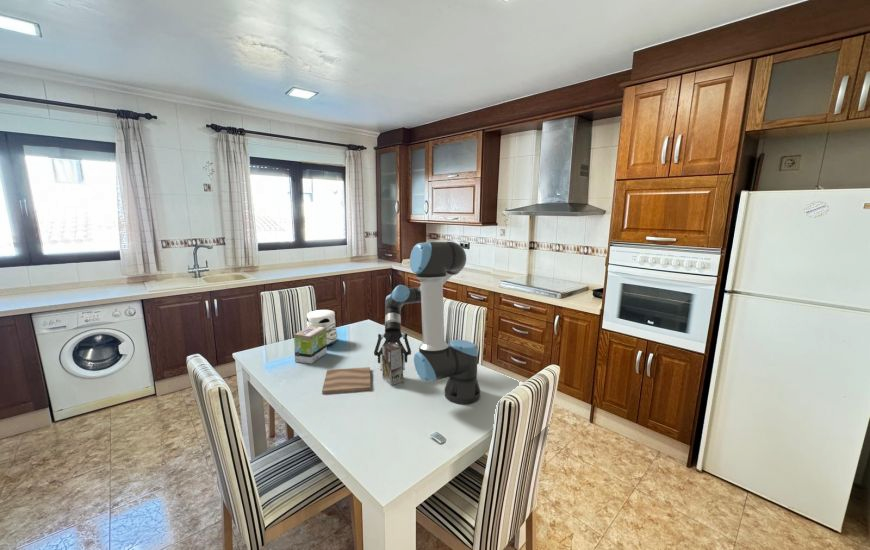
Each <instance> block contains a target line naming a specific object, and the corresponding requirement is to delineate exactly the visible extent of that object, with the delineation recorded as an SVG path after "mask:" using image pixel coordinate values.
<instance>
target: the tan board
mask: <svg viewBox="0 0 870 550" xmlns="http://www.w3.org/2000/svg"><path fill="white" fill-rule="evenodd" d="M371 386H372V385H371V367H370V366H369V367H368V366H366V367H352V368H338V369H327V370H326V373H325V377H324V382H323V385H322V390H321V394H322V395H325V394H328V395H329V394H339V393H351V392H352V391H355V392H365V391H367V392H368V391H371V390H372V388H371Z"/></svg>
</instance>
